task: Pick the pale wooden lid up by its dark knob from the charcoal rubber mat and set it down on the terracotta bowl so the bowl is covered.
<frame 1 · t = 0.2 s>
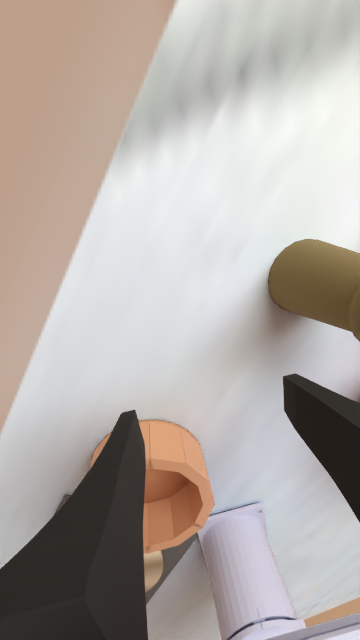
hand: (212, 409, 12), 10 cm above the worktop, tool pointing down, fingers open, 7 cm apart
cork: (301, 276, 22), on the worktop
mat: (106, 560, 30), on the worktop
lid: (106, 564, 30), resting on mat
bowl: (148, 464, 26), on the worktop
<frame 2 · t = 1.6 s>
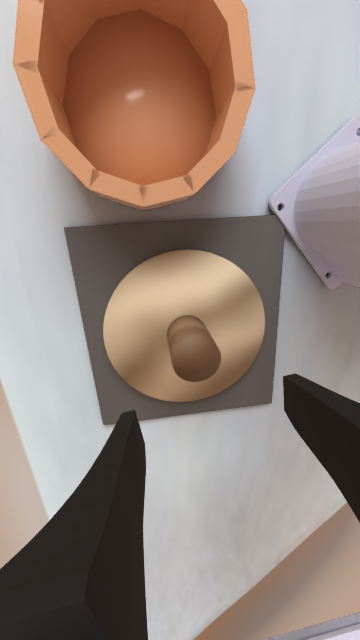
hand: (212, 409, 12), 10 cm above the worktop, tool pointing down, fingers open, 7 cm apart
mat: (184, 328, 22), on the worktop
lid: (185, 330, 22), resting on mat
bowl: (142, 114, 17), on the worktop
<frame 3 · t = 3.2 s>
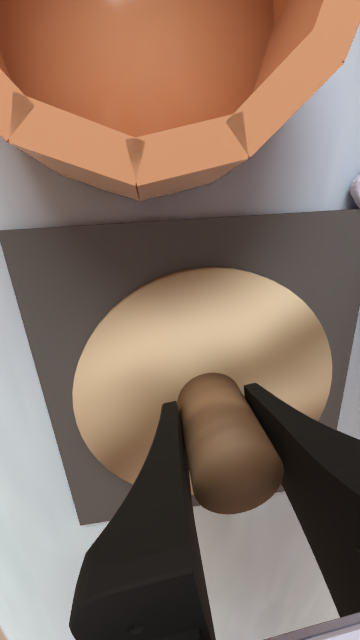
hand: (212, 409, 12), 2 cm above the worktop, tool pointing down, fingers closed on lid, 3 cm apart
mat: (204, 386, 14), on the worktop
lid: (205, 391, 14), resting on mat, touching gripper
bowl: (136, 18, 9), on the worktop
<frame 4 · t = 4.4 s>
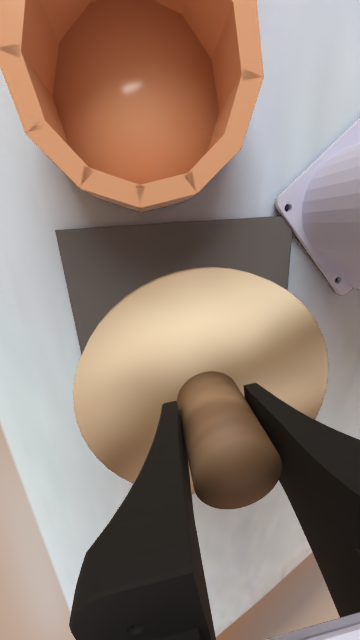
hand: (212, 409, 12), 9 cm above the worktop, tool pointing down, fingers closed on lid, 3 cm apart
mat: (185, 336, 21), on the worktop
lid: (204, 390, 14), point 7 cm above the worktop, touching gripper
bowl: (139, 108, 15), on the worktop
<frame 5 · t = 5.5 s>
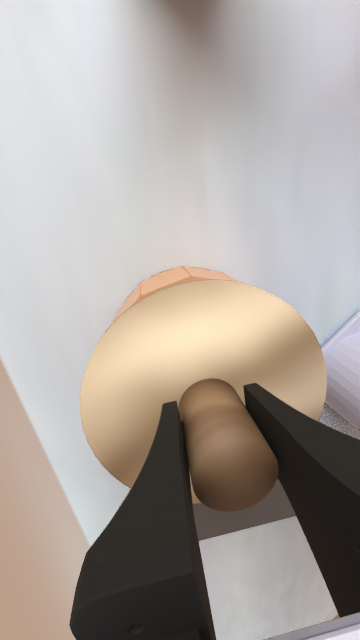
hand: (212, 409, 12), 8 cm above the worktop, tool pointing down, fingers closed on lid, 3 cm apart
mat: (230, 470, 26), on the worktop
lid: (206, 397, 14), point 7 cm above the worktop, touching gripper
bowl: (186, 338, 20), on the worktop
when the fingers open (7 cm above the worktop, at t = 6.0 s): lid stays where it is, resting on bowl.
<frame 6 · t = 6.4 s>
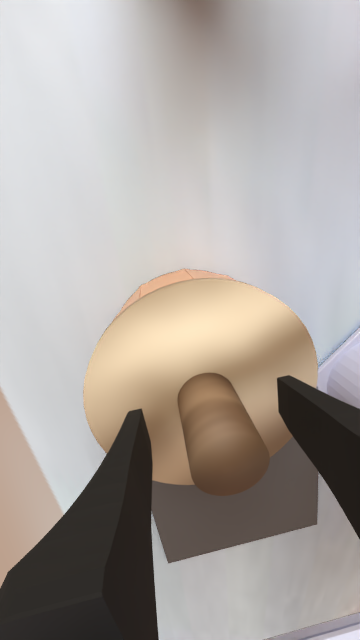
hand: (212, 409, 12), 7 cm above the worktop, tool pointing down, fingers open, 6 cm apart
mat: (234, 482, 24), on the worktop
lid: (203, 389, 15), point 4 cm above the worktop, touching bowl
bowl: (189, 345, 19), on the worktop
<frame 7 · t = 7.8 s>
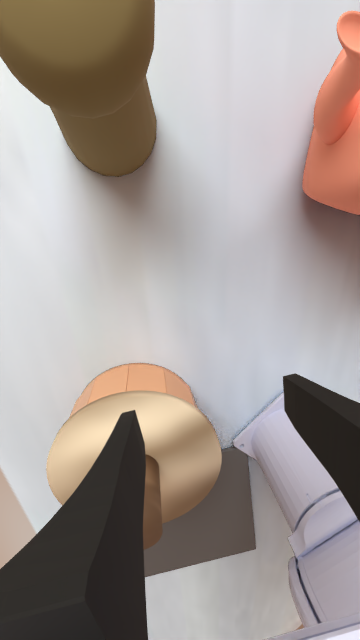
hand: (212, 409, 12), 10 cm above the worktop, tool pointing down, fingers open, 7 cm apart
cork: (110, 124, 17), on the worktop
mat: (182, 515, 30), on the worktop
lid: (138, 461, 20), point 4 cm above the worktop, touching bowl
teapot: (356, 149, 19), on the worktop
bowl: (137, 415, 24), on the worktop
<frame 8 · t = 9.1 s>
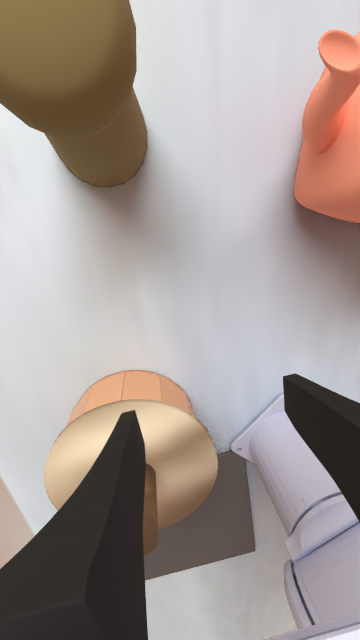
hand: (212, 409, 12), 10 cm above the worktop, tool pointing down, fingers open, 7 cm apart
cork: (100, 136, 17), on the worktop
mat: (182, 519, 30), on the worktop
lid: (135, 468, 21), point 4 cm above the worktop, touching bowl
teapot: (348, 155, 19), on the worktop
bowl: (135, 421, 25), on the worktop
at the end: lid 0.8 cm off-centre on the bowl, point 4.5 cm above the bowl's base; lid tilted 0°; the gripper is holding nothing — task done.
